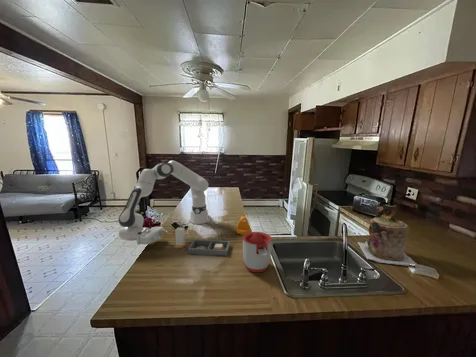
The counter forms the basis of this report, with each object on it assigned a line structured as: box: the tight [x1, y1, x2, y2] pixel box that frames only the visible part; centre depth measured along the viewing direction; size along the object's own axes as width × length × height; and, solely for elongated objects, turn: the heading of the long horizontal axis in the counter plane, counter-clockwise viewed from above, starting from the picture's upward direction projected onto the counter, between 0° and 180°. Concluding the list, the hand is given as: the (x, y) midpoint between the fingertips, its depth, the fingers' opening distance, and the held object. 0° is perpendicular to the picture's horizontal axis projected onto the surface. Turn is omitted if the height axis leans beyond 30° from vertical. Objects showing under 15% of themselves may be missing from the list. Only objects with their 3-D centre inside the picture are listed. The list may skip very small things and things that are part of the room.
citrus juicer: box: [242, 231, 273, 273], centre depth 114 cm, size 16×17×20 cm
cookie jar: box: [357, 204, 418, 267], centre depth 128 cm, size 25×25×32 cm
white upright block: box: [174, 226, 186, 249], centre depth 139 cm, size 6×6×12 cm
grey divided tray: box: [187, 239, 231, 257], centre depth 135 cm, size 13×24×3 cm, turn 85°
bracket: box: [235, 215, 253, 236], centre depth 161 cm, size 11×7×12 cm, turn 98°
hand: (164, 235), depth 139 cm, fingers open, 8 cm apart
